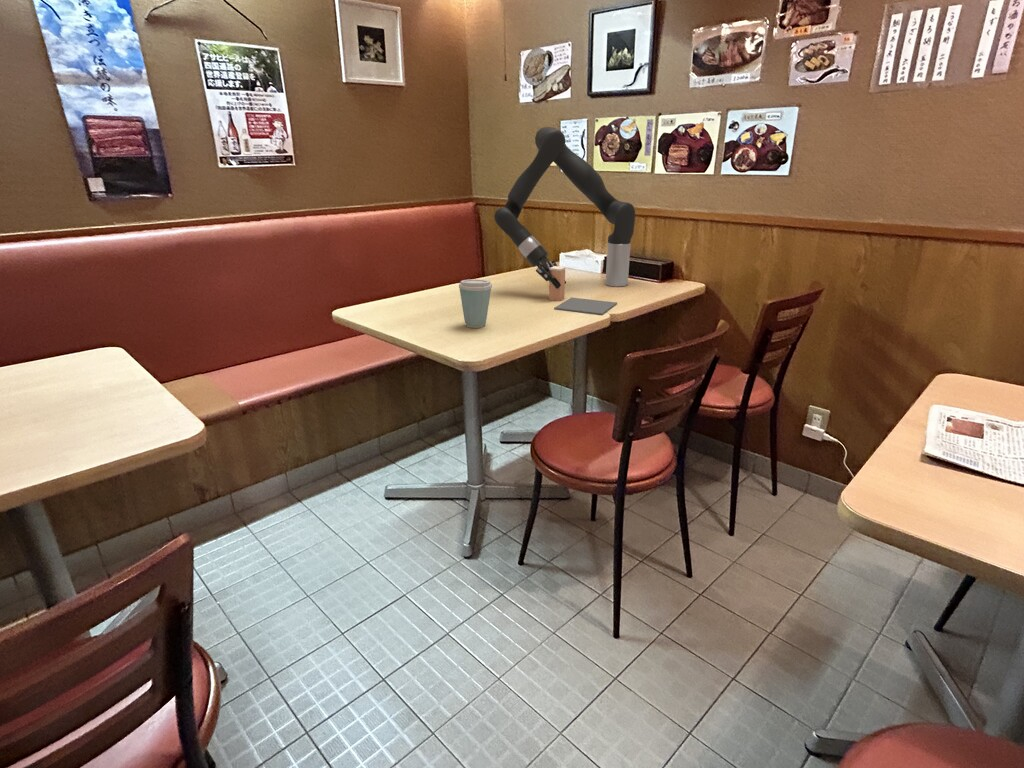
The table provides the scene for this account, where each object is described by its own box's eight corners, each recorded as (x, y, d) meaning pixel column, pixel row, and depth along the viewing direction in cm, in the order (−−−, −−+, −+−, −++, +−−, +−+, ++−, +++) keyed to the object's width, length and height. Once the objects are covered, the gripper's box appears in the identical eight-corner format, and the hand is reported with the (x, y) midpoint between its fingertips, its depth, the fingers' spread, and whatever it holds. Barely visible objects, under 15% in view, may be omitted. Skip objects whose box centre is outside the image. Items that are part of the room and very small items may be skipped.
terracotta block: (553, 297, 227) (554, 265, 222) (564, 298, 225) (565, 266, 220) (548, 299, 223) (549, 268, 218) (559, 300, 221) (560, 269, 217)
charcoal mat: (571, 298, 224) (571, 297, 224) (617, 304, 216) (617, 302, 216) (554, 309, 210) (554, 307, 210) (602, 315, 202) (602, 313, 202)
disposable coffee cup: (459, 321, 196) (458, 276, 190) (492, 320, 197) (491, 276, 191) (460, 330, 186) (458, 283, 181) (494, 329, 187) (493, 283, 182)
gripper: (531, 247, 214) (561, 283, 213) (547, 241, 225) (575, 275, 225) (518, 260, 218) (547, 296, 217) (534, 254, 230) (562, 288, 229)
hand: (561, 285), depth 221 cm, fingers closed on terracotta block, 4 cm apart
